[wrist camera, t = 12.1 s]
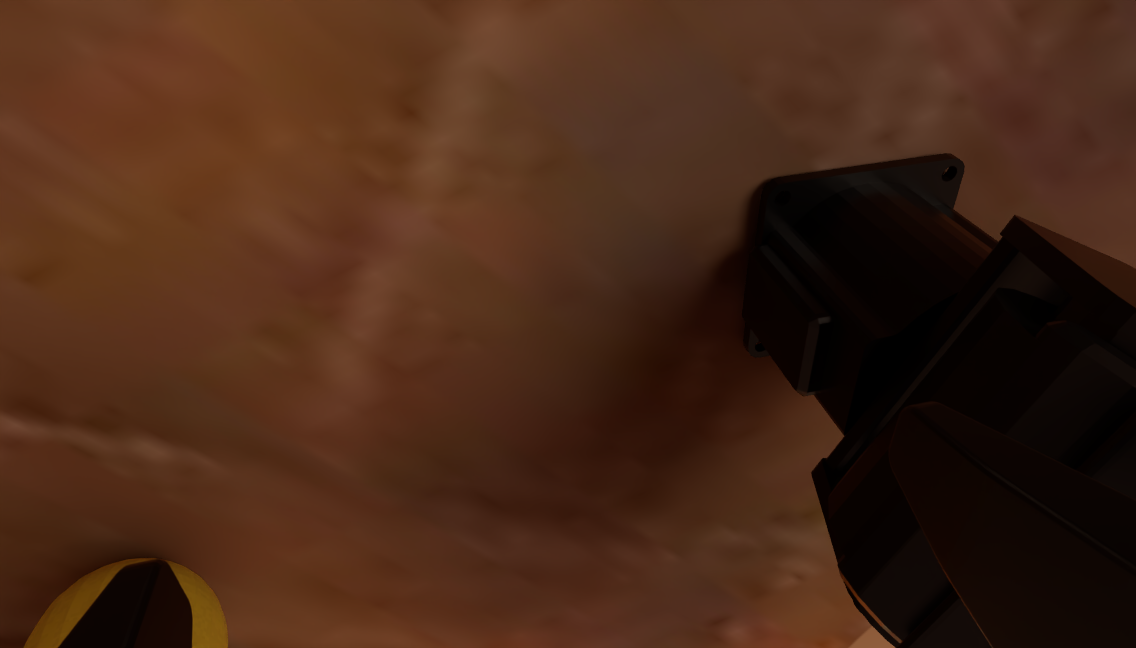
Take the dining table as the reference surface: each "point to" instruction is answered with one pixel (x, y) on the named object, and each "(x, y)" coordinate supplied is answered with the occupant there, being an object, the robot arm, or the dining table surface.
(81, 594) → the lemon
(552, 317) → the dining table surface
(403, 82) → the dining table surface
